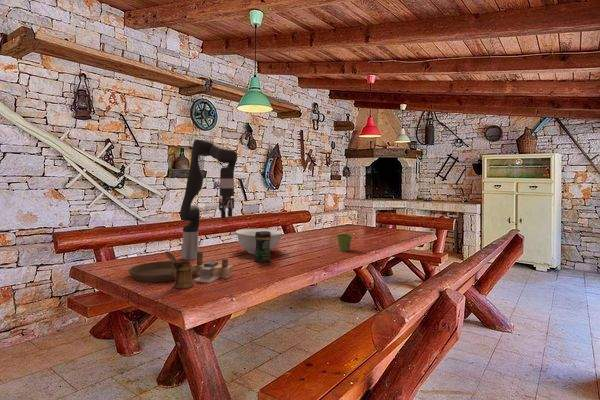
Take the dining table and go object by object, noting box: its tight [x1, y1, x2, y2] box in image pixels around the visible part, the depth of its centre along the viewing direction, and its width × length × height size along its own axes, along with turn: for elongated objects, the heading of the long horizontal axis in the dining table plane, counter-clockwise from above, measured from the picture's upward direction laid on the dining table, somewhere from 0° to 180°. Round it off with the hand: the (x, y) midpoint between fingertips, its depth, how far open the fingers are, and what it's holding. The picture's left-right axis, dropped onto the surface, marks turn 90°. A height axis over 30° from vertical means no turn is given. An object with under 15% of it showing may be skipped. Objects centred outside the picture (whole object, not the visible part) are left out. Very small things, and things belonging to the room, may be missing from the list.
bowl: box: [235, 228, 283, 255], centre depth 258 cm, size 32×32×15 cm
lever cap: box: [199, 267, 213, 279], centre depth 188 cm, size 5×4×5 cm
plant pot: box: [335, 233, 354, 252], centre depth 271 cm, size 12×12×11 cm
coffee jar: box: [253, 231, 271, 263], centre depth 232 cm, size 10×8×19 cm
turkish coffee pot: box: [165, 250, 195, 290], centre depth 174 cm, size 9×14×18 cm, turn 137°
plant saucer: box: [128, 260, 193, 283], centre depth 195 cm, size 31×31×5 cm
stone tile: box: [193, 276, 219, 284], centre depth 188 cm, size 9×9×1 cm
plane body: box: [191, 250, 234, 279], centre depth 197 cm, size 20×7×12 cm, turn 77°
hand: (226, 217), depth 200 cm, fingers open, 8 cm apart
